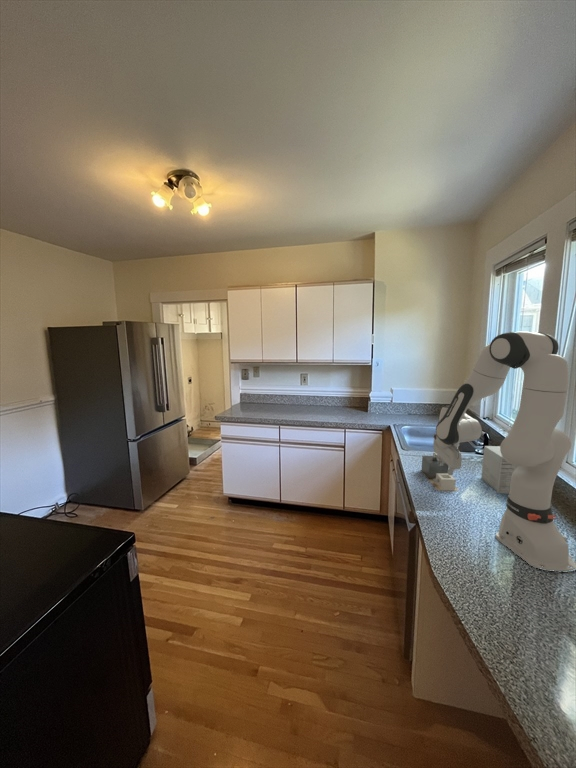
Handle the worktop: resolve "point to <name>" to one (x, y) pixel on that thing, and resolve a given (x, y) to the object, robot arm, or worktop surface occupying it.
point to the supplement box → (496, 470)
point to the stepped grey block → (433, 466)
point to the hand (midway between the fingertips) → (445, 469)
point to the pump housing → (445, 481)
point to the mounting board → (437, 486)
